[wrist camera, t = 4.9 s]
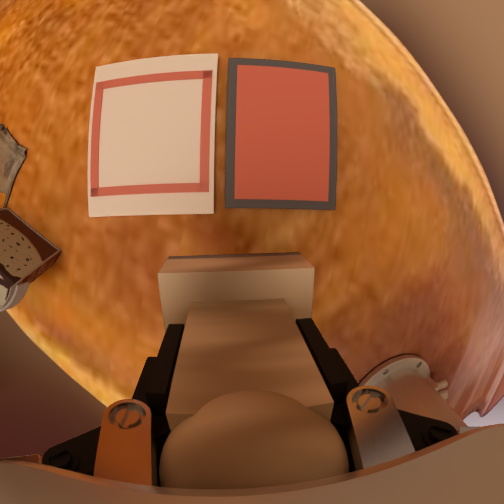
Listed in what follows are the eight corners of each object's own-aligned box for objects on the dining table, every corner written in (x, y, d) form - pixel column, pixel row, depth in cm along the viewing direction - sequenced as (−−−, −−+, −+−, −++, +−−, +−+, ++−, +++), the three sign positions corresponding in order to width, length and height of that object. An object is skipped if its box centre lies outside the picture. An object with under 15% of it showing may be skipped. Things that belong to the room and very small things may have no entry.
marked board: (218, 57, 23) (217, 52, 21) (214, 212, 26) (213, 214, 25) (99, 70, 22) (95, 66, 20) (93, 215, 25) (88, 217, 24)
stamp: (299, 252, 14) (466, 432, 3) (293, 359, 15) (365, 548, 4) (169, 256, 13) (45, 467, 2) (182, 364, 14) (154, 566, 4)
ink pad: (331, 71, 24) (335, 67, 22) (331, 209, 27) (335, 210, 26) (228, 62, 23) (228, 57, 22) (225, 207, 26) (225, 208, 25)
